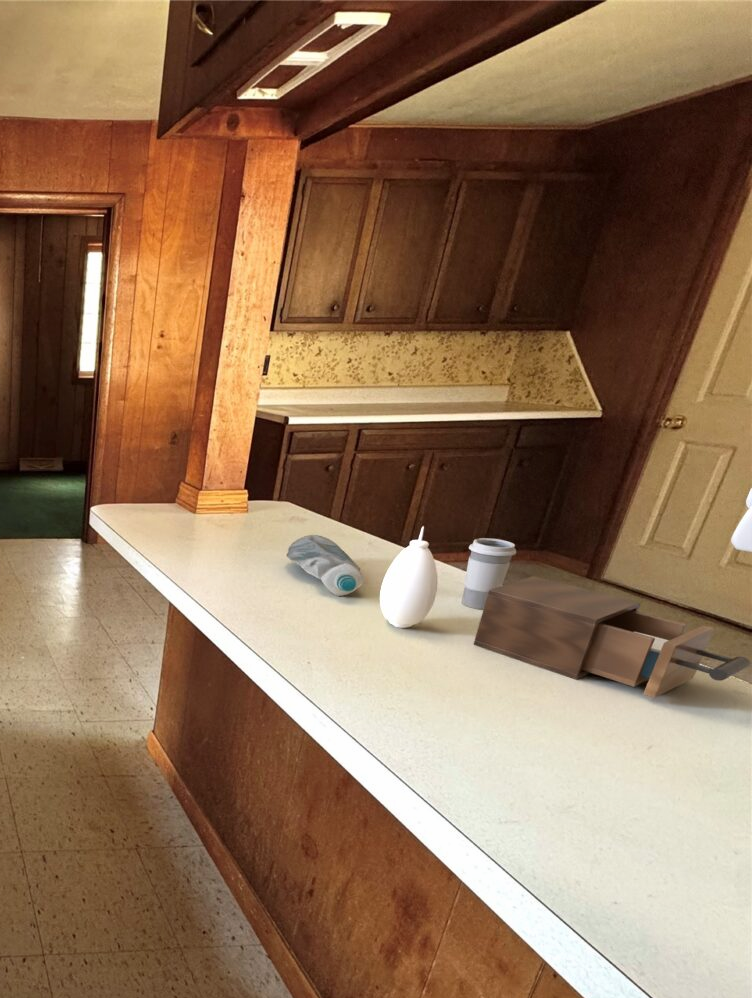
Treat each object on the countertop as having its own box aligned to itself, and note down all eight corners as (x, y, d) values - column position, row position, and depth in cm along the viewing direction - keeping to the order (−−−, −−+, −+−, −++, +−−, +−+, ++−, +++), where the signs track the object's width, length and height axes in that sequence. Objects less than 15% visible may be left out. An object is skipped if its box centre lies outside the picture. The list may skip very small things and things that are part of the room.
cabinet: (619, 660, 101) (641, 602, 97) (575, 679, 96) (597, 619, 92) (516, 628, 112) (533, 575, 109) (473, 644, 107) (488, 589, 104)
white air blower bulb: (427, 638, 110) (453, 534, 103) (372, 629, 114) (394, 529, 107) (426, 622, 116) (451, 523, 109) (374, 614, 120) (395, 518, 113)
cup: (467, 595, 127) (483, 535, 122) (507, 606, 121) (526, 544, 117) (446, 603, 124) (462, 541, 119) (486, 614, 118) (505, 550, 114)
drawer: (742, 693, 89) (766, 641, 87) (704, 714, 85) (728, 660, 82) (584, 645, 104) (600, 599, 101) (544, 661, 100) (560, 613, 97)
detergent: (278, 560, 149) (303, 598, 126) (285, 529, 146) (312, 562, 124) (341, 567, 146) (379, 608, 124) (350, 536, 143) (390, 572, 121)
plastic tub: (671, 671, 93) (682, 643, 92) (657, 681, 91) (668, 652, 89) (624, 658, 97) (634, 631, 96) (609, 667, 95) (620, 639, 93)
